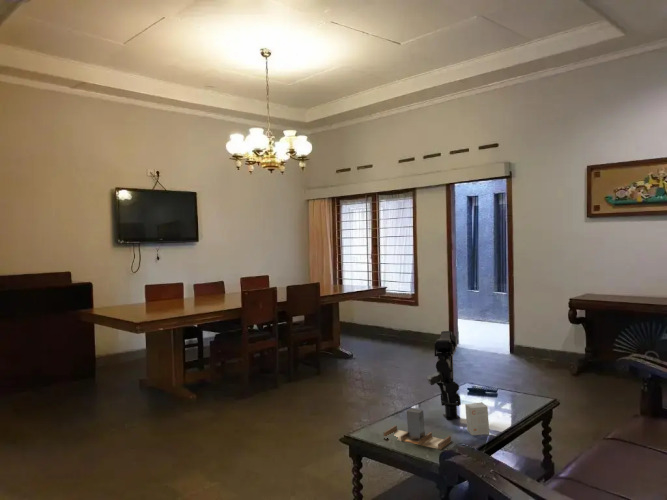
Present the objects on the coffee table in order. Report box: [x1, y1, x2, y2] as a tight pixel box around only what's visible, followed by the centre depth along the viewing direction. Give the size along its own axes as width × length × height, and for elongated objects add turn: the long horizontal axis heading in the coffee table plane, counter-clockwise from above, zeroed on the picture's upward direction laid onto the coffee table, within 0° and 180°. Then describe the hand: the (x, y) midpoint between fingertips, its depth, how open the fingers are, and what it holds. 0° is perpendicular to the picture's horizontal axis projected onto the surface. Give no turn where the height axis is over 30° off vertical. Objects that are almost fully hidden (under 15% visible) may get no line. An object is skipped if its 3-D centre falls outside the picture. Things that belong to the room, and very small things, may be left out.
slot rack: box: [383, 424, 452, 450], centre depth 224 cm, size 28×10×3 cm, turn 51°
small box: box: [465, 402, 490, 437], centre depth 227 cm, size 8×6×13 cm
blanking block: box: [406, 407, 426, 441], centre depth 224 cm, size 6×4×12 cm, turn 51°
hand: (447, 400), depth 236 cm, fingers open, 9 cm apart
